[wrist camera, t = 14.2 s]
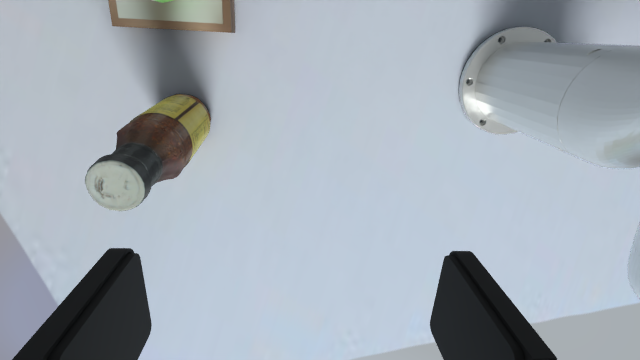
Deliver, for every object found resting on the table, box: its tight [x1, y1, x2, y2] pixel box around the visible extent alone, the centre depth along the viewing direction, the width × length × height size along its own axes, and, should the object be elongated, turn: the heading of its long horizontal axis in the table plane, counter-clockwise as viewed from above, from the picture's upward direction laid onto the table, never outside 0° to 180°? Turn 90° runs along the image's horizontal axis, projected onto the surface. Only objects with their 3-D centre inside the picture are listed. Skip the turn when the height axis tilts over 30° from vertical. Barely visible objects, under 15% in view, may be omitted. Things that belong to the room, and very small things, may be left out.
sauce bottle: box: [85, 94, 211, 211], centre depth 33 cm, size 7×6×20 cm
